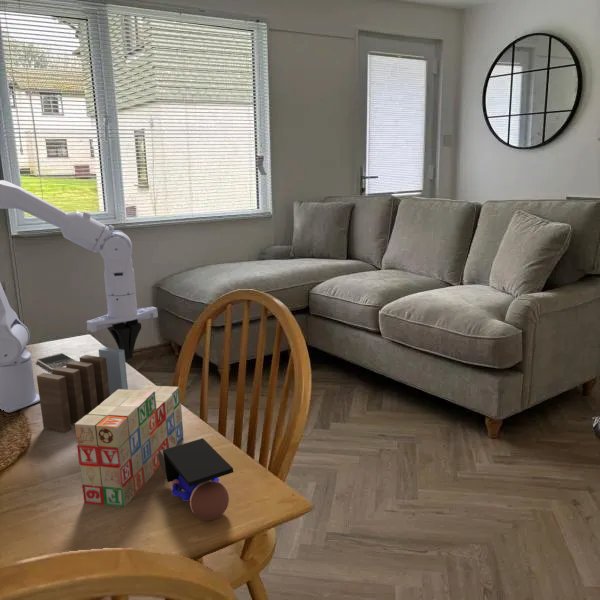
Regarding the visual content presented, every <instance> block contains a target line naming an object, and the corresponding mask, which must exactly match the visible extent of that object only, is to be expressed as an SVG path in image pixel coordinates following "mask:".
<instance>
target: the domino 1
mask: <svg viewBox="0 0 600 600" xmlns="http://www.w3.org/2000/svg"><path fill="white" fill-rule="evenodd" d="M36 382H37V389H38V390H37V391H38V394H39V397H40V402H39V403H40V411H41V418H42V419H41V420H42V427H43V429H44V430H48V431H52V432H57V433H63V434H66V433H67V432H70V431H72V424H71V419H70V411H69V403H68V395H67V387H66V379H65V376H60V375H55V374H52V373H47V372H42V373H39V374H38V375H36Z"/></svg>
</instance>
